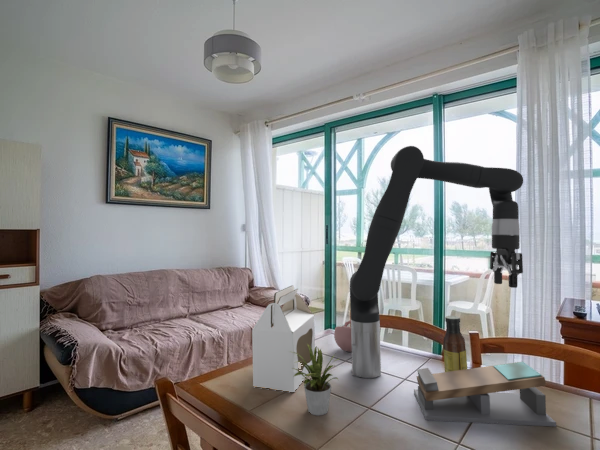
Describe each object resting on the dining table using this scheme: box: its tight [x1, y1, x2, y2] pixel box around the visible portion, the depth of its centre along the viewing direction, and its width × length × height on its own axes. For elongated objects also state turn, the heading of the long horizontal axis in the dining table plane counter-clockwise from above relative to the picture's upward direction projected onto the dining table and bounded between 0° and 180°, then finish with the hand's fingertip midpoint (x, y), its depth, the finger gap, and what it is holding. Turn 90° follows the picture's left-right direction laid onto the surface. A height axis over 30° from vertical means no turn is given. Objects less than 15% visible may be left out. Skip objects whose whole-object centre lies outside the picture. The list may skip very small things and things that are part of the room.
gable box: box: [251, 285, 316, 393], centre depth 110 cm, size 22×13×28 cm, turn 161°
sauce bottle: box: [442, 315, 468, 372], centre depth 101 cm, size 7×6×20 cm
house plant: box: [292, 344, 339, 416], centre depth 89 cm, size 14×14×16 cm
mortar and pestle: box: [333, 319, 352, 353], centre depth 131 cm, size 12×12×12 cm
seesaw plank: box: [416, 361, 547, 401], centre depth 87 cm, size 28×10×4 cm, turn 82°
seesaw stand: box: [413, 385, 557, 427], centre depth 87 cm, size 29×14×6 cm, turn 82°
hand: (505, 285), depth 106 cm, fingers open, 8 cm apart
